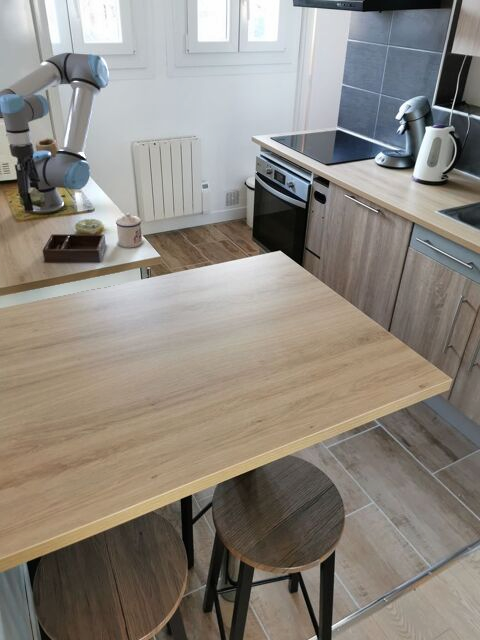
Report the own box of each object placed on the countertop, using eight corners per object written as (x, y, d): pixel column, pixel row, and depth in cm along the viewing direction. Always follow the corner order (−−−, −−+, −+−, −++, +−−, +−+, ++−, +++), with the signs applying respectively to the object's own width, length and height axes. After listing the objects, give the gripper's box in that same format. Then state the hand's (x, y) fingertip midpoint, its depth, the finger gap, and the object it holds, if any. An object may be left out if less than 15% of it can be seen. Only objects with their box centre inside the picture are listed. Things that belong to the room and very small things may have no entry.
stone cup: (39, 174, 255) (33, 143, 246) (37, 167, 264) (32, 137, 255) (71, 171, 259) (66, 141, 251) (68, 164, 269) (64, 135, 260)
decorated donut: (96, 238, 196) (95, 229, 194) (71, 234, 198) (69, 225, 196) (109, 227, 204) (107, 218, 202) (84, 224, 206) (83, 215, 204)
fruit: (24, 215, 186) (15, 194, 182) (22, 208, 194) (13, 188, 189) (50, 207, 189) (41, 186, 184) (46, 200, 196) (38, 180, 192)
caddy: (53, 245, 190) (51, 234, 187) (105, 245, 191) (104, 234, 188) (44, 262, 179) (42, 250, 176) (100, 262, 180) (98, 250, 178)
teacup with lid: (138, 249, 189) (136, 219, 183) (114, 247, 190) (111, 217, 184) (147, 235, 199) (145, 207, 193) (125, 233, 200) (122, 205, 194)
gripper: (19, 134, 187) (31, 193, 200) (-2, 152, 169) (13, 216, 181) (40, 134, 188) (51, 193, 200) (22, 153, 169) (35, 216, 182)
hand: (33, 204), depth 191 cm, fingers closed on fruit, 10 cm apart
